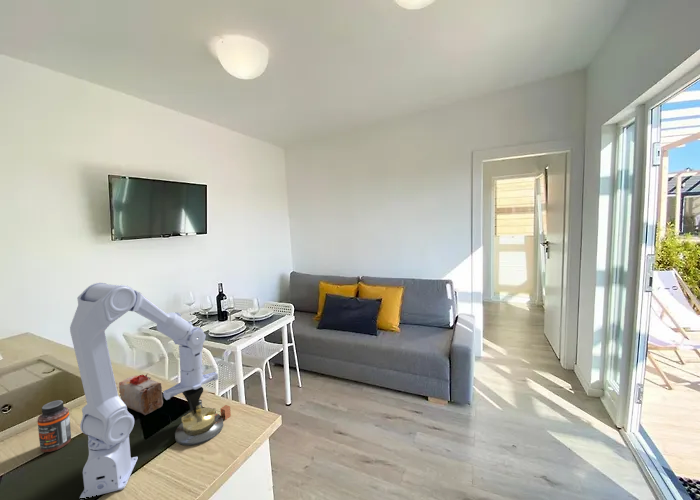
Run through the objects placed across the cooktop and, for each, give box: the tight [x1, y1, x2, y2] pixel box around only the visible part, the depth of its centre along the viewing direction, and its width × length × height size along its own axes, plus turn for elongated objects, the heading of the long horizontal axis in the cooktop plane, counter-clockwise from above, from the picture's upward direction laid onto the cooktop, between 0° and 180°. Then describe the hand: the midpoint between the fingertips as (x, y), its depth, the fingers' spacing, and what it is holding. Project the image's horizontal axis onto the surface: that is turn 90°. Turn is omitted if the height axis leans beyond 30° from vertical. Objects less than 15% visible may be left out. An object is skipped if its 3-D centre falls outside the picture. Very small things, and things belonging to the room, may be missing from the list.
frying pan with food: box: [174, 404, 232, 447], centre depth 86 cm, size 14×12×3 cm
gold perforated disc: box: [181, 399, 217, 435], centre depth 87 cm, size 14×8×3 cm, turn 27°
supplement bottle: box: [37, 399, 72, 453], centre depth 80 cm, size 6×6×11 cm
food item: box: [118, 373, 164, 416], centre depth 97 cm, size 14×8×10 cm, turn 64°
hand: (193, 411), depth 90 cm, fingers closed, pressing on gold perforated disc
